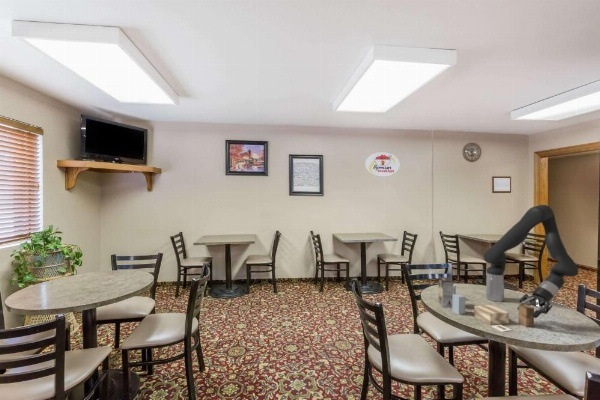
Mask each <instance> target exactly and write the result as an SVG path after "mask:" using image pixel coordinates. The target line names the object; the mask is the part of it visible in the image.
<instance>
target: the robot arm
mask: <svg viewBox="0 0 600 400" xmlns="http://www.w3.org/2000/svg"><path fill="white" fill-rule="evenodd" d="M539 224H541V225H542V226H543V229H544V235H545V236H544V238H545V240H544V241H545V246H546V248H547V250H548V253H549V255H550V257H551V258H552V259H554V260H556V261H557V263H555V264H554V265H553V266H552V267H551V269H550V272H549V274H548V276H547V277H546V278H545V279H543V281H542V282H541V283H540V284H539V285H538V286H537V287H536V288H535V289H534V291H532V295H529V294H528V293H524V295H523V296H522V297H520V299H519V300H518V302H519V303H520V304H519V305H525V304H526V305H529V306H531V307H534V308H536V310H534V313H533V314H532V316H533V317H534V319H537V318H538V317H539V316H540V315H541V314H544V315H547V314H548V313H549V312H550V311H551V309H552V308H553V304H552V303H551V301H552V299H553V298H554V297H556V295H557V294H558V292H559V290H561V288H562V287H564V285H565V282H566V281H565V279H564V277H577V276H578V274H579V267H578V265H577V264H576V262H575V261H574V260H573V258H572V256H570V255H569V254H568V251H567V250H566V247H565V245H564V243H563V240H562V238H561V236H560V235H561V234H560V233H559V229H558V225H557V221H556V217H555V212H554V210H553V208H551V207H550V206H549V205H546V204H538V205H535V206H532V207H530V208H529V209H527V211H526V212H525V213H524V214H523V216H521V218H520V220H518V222H516V223H515V224H514V225H513V226H512V227H511V228H510V229H509V230H507V231H506V233H505V234H504V235H503V236H502V237H501V238H499V240H497V241H496V242H495V243H494V244H493V245H491V246H490V247H489V248H488V249H486V250H485V252H484V253H483V260H484V261H485V262H486V263H488V264H491V265H490V266H489V267H487V268H486V283H485V284H486V286H485V287H486V291H485V293H486V294H485V295H486V296H485V298H486V299H487V300H490V301H493V302H503V301H504V300H505V285H504V273H505V271H506V261H507V257H506V253H505V252H507V251H510V250H512V249H514V248H516V247H519V245H520V244H522V243H523V242H524V241H525V240H526V239H527V237H528V236H529V233H530V232H531V230H532V229H533V228H536V227H537V226H538V225H539ZM517 310H518V311H519V306H517Z"/></svg>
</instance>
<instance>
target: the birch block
mask: <svg viewBox="0 0 600 400" xmlns="http://www.w3.org/2000/svg"><path fill="white" fill-rule="evenodd" d="M473 315H474V317H476V318H478V319H479V320H480V321H483V322H485V323H487V324H489V325H503V324H509V322H510V321H509V318H510V317H509V316H510V315H509V312H508V311H506V310H503V309H502V308H499V307H497V306H495V305H493V304H483V305H474V314H473Z"/></svg>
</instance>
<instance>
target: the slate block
mask: <svg viewBox="0 0 600 400" xmlns="http://www.w3.org/2000/svg"><path fill="white" fill-rule="evenodd" d="M451 311H452V312H453V313H454V314H457V315H459V316H460V315H465V313H466V296H465V295H462V294H459V293H456V294H454V295H453V305H452V310H451Z"/></svg>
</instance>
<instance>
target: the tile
mask: <svg viewBox="0 0 600 400" xmlns="http://www.w3.org/2000/svg"><path fill="white" fill-rule="evenodd" d="M491 328H494V329H496V330H498V331H500V332H502V333H503V332H510V331H511V332H512V331H513V330H512V329H511V328H509V327H507V326H504V325H503V324H493V325H491Z"/></svg>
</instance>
